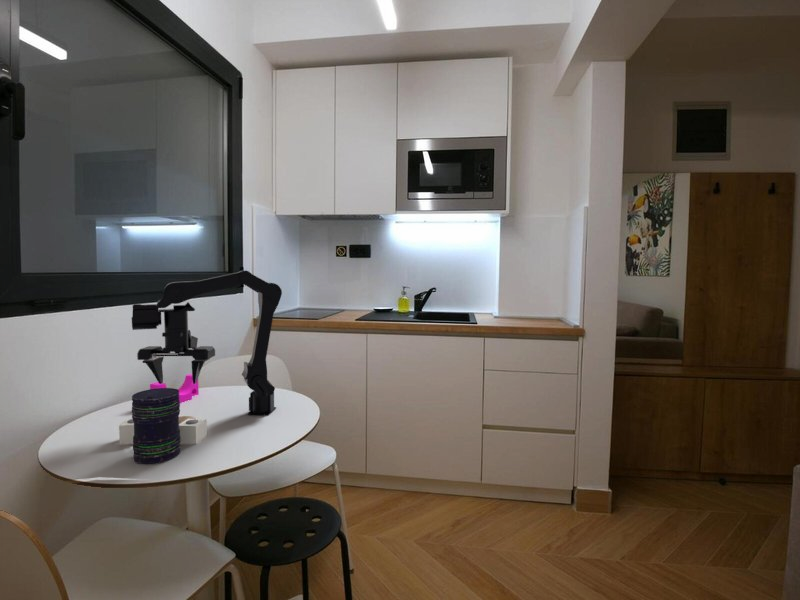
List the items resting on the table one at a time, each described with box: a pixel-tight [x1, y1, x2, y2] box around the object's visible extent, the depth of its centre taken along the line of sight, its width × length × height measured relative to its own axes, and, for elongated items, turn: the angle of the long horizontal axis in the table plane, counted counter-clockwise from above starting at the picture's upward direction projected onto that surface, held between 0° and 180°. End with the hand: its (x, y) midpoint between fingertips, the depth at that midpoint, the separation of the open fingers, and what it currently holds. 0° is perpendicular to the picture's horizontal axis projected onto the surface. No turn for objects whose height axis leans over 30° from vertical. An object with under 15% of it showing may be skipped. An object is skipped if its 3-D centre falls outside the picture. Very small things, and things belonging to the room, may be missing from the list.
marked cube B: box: [118, 418, 134, 446], centre depth 109 cm, size 5×5×5 cm
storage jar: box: [131, 387, 181, 466], centre depth 100 cm, size 10×10×15 cm
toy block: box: [149, 373, 200, 404], centre depth 142 cm, size 15×6×8 cm, turn 155°
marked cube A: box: [179, 418, 208, 445], centre depth 109 cm, size 5×5×5 cm
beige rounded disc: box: [179, 415, 197, 424], centre depth 116 cm, size 8×8×3 cm
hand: (178, 383), depth 118 cm, fingers open, 9 cm apart
